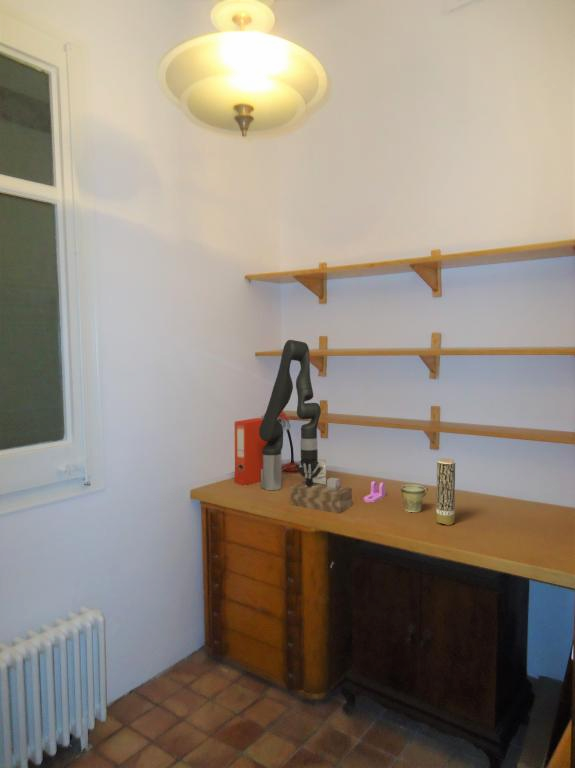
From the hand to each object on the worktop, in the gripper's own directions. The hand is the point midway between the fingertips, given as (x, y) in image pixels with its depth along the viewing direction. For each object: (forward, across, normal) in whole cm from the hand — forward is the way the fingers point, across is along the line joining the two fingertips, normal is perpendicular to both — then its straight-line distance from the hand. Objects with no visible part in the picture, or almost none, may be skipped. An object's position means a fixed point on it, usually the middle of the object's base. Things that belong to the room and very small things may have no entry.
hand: (309, 486), depth 233 cm
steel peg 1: (+8, 0, 0) cm, 8 cm away
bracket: (+8, +22, +21) cm, 31 cm away
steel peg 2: (+3, +12, 0) cm, 12 cm away
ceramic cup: (+8, +44, +14) cm, 47 cm away
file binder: (+8, -44, +19) cm, 49 cm away
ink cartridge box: (+8, -8, +23) cm, 26 cm away
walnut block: (+8, +6, 0) cm, 10 cm away
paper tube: (+8, +59, +4) cm, 60 cm away
